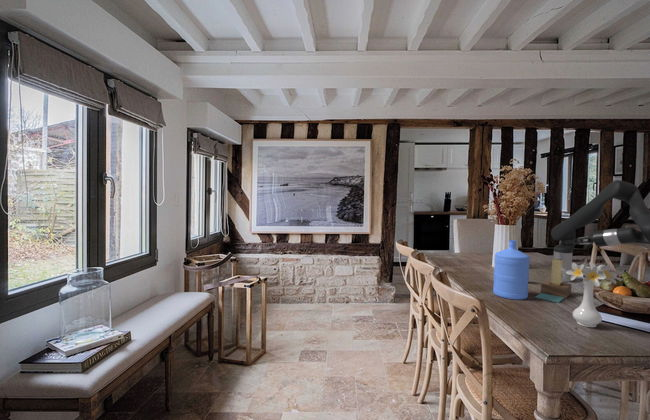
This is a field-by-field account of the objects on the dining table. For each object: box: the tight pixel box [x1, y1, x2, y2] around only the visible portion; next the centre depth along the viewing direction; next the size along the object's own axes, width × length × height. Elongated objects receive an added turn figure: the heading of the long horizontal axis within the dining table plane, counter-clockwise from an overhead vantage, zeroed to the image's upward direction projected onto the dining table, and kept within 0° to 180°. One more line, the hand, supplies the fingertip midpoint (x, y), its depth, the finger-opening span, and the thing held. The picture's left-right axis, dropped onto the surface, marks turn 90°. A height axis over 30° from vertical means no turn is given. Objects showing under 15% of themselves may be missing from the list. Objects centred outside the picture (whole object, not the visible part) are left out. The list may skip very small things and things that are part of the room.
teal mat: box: [535, 292, 565, 304], centre depth 171 cm, size 10×10×1 cm
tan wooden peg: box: [550, 257, 563, 286], centre depth 179 cm, size 4×4×18 cm
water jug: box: [492, 239, 531, 301], centre depth 174 cm, size 16×16×28 cm
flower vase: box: [560, 261, 618, 328], centre depth 136 cm, size 13×18×25 cm
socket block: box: [540, 280, 572, 299], centre depth 179 cm, size 11×11×5 cm
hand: (569, 242), depth 174 cm, fingers open, 8 cm apart
